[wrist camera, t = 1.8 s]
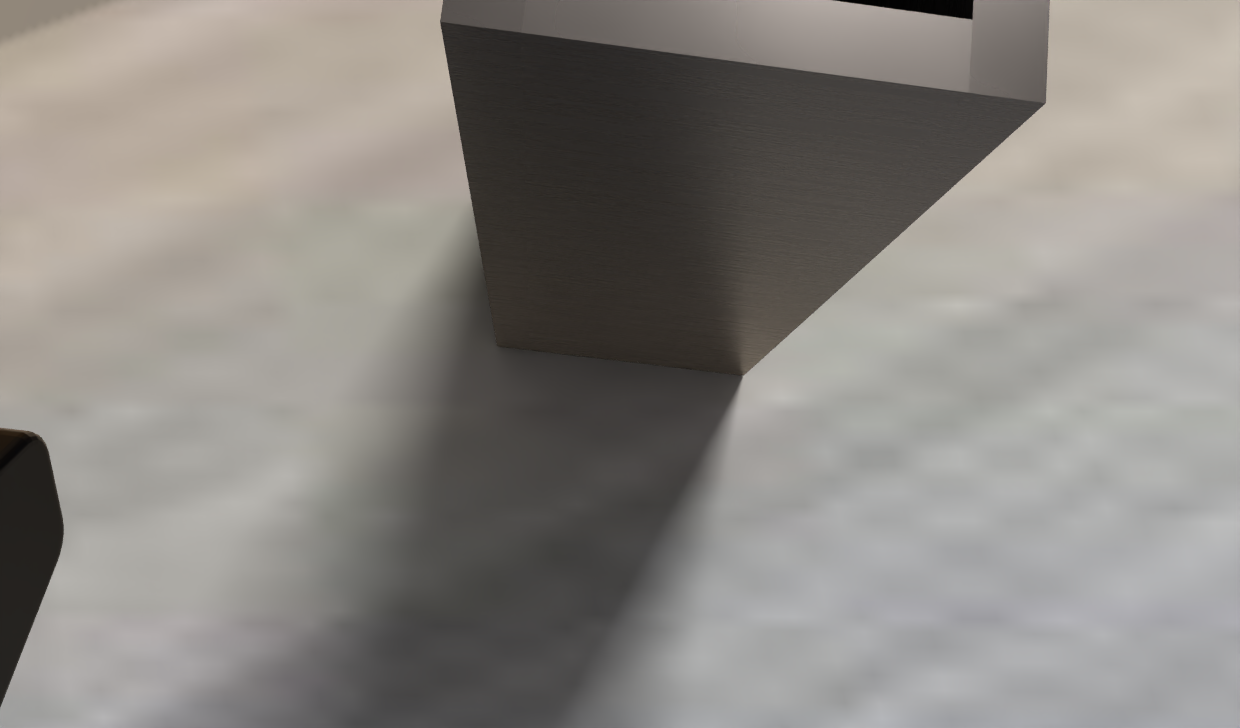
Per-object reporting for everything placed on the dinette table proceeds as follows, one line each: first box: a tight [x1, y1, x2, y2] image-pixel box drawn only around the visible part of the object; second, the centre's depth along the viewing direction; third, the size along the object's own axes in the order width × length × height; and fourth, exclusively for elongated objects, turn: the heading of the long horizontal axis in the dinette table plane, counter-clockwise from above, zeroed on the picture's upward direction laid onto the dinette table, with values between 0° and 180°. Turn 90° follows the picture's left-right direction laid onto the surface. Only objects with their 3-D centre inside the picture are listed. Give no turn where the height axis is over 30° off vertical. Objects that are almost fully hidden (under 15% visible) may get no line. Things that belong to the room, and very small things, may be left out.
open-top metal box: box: [440, 0, 1050, 375], centre depth 15 cm, size 5×5×12 cm
